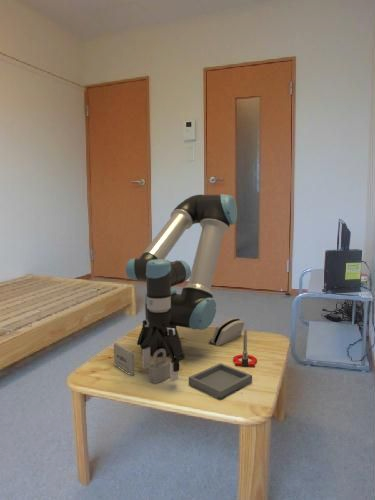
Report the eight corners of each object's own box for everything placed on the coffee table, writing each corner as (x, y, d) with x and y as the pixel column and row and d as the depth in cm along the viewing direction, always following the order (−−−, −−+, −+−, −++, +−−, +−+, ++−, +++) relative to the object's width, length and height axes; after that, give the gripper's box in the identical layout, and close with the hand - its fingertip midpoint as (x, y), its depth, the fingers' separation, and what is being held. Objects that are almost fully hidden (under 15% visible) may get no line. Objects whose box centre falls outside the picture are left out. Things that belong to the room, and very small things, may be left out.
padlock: (163, 373, 131) (163, 344, 130) (172, 377, 128) (171, 347, 127) (147, 381, 126) (147, 350, 124) (156, 384, 123) (156, 354, 122)
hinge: (231, 332, 170) (238, 312, 167) (240, 338, 168) (247, 318, 164) (207, 343, 158) (214, 322, 154) (216, 349, 155) (223, 328, 152)
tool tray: (188, 384, 123) (188, 377, 122) (220, 370, 133) (220, 363, 133) (220, 399, 114) (220, 391, 113) (252, 382, 124) (252, 375, 124)
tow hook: (233, 357, 145) (232, 366, 136) (234, 322, 144) (233, 329, 135) (256, 358, 144) (257, 367, 135) (257, 323, 143) (258, 330, 134)
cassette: (112, 364, 138) (112, 343, 137) (117, 363, 139) (117, 342, 138) (131, 376, 129) (130, 353, 128) (135, 374, 130) (135, 352, 129)
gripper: (125, 304, 130) (127, 365, 133) (177, 320, 113) (178, 390, 115) (143, 299, 135) (144, 359, 138) (195, 314, 118) (196, 382, 121)
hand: (160, 373), depth 127 cm, fingers open, 13 cm apart
